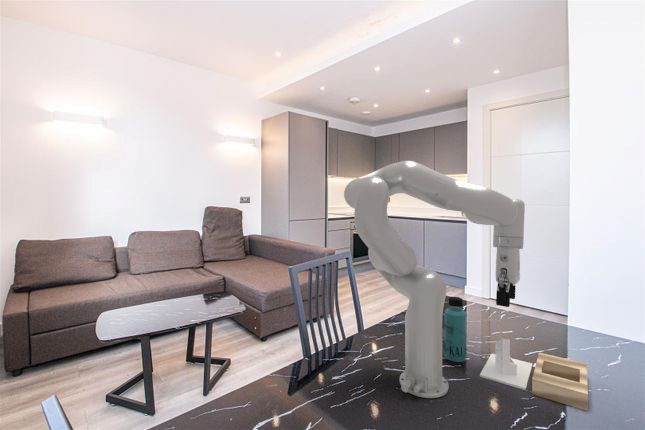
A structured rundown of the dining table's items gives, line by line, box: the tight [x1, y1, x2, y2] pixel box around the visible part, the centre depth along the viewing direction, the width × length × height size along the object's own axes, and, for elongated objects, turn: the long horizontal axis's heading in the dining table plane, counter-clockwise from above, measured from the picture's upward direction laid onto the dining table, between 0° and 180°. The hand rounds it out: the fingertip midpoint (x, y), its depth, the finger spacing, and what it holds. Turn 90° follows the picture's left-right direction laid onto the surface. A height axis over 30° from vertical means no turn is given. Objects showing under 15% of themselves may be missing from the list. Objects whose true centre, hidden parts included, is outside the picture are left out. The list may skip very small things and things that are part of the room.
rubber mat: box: [479, 353, 533, 391], centre depth 94 cm, size 16×11×1 cm
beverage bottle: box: [443, 296, 467, 363], centre depth 99 cm, size 6×7×20 cm
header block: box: [531, 352, 589, 412], centre depth 86 cm, size 18×11×4 cm, turn 142°
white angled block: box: [494, 338, 517, 376], centre depth 93 cm, size 4×10×9 cm, turn 170°
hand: (505, 301), depth 93 cm, fingers open, 9 cm apart
